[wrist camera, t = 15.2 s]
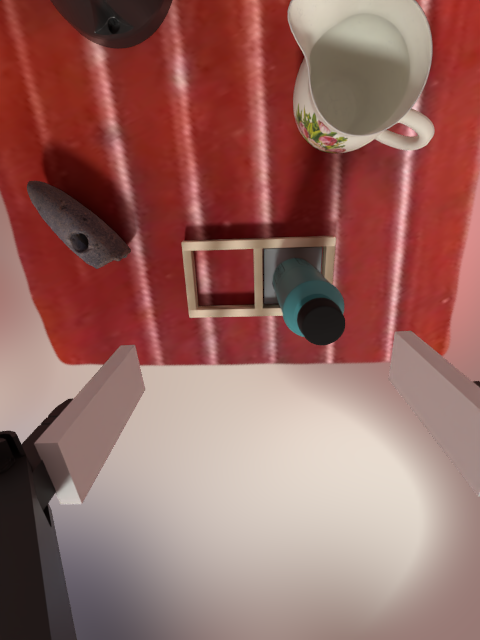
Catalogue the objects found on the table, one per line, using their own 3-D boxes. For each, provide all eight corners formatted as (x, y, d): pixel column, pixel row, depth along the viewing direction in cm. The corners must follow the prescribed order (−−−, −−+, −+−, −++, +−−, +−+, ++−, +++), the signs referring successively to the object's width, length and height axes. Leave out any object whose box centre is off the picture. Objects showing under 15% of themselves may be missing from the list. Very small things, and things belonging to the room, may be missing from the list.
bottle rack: (191, 313, 48) (189, 317, 46) (184, 240, 44) (181, 242, 42) (326, 310, 47) (329, 314, 45) (332, 235, 43) (336, 237, 41)
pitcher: (366, 194, 41) (419, 190, 28) (253, 120, 38) (255, 77, 25) (422, 112, 37) (512, 62, 24) (301, 23, 34) (331, -86, 22)
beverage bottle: (262, 273, 44) (270, 322, 26) (298, 244, 43) (335, 275, 24) (287, 305, 46) (312, 373, 28) (323, 279, 44) (375, 333, 26)
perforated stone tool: (36, 196, 42) (-2, 195, 36) (57, 168, 41) (20, 161, 34) (119, 272, 46) (97, 283, 39) (140, 248, 44) (121, 255, 38)
